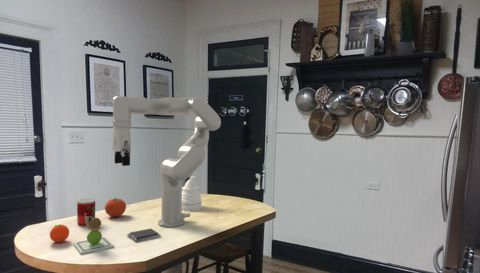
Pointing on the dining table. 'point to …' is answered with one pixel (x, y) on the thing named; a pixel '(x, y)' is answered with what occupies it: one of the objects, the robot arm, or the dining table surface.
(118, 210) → the tomato
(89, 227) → the snail figurine
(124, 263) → the dining table surface
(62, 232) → the clementine
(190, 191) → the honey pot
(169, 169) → the robot arm
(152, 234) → the ink pad
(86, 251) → the board
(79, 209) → the canned food
